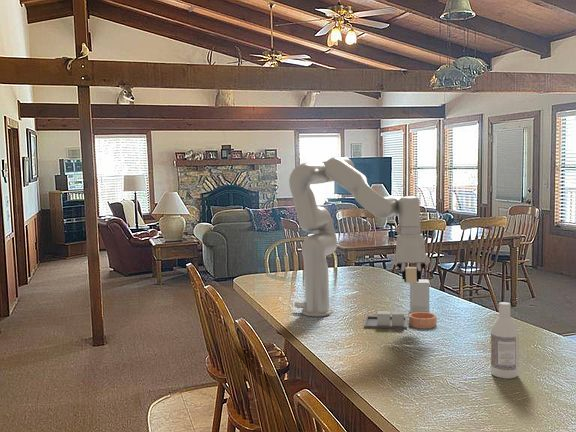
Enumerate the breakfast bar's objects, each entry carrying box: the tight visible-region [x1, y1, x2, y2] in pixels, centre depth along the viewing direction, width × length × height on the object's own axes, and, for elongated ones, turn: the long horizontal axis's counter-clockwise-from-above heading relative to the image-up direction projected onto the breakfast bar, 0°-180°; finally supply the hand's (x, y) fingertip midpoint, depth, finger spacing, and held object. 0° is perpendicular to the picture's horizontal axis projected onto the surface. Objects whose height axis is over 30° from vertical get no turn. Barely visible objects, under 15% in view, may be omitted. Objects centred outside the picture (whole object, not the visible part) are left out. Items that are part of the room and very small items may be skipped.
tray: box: [363, 315, 408, 330], centre depth 204 cm, size 15×13×1 cm
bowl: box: [408, 312, 438, 329], centre depth 202 cm, size 10×10×4 cm
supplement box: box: [409, 278, 430, 314], centre depth 219 cm, size 7×7×13 cm
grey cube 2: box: [391, 311, 405, 326], centre depth 199 cm, size 4×4×5 cm
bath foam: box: [490, 301, 519, 380], centre depth 152 cm, size 7×7×20 cm
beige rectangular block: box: [405, 266, 417, 284], centre depth 201 cm, size 4×4×5 cm
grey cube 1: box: [376, 310, 391, 326], centre depth 201 cm, size 4×4×5 cm
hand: (411, 280), depth 201 cm, fingers closed on beige rectangular block, 3 cm apart
